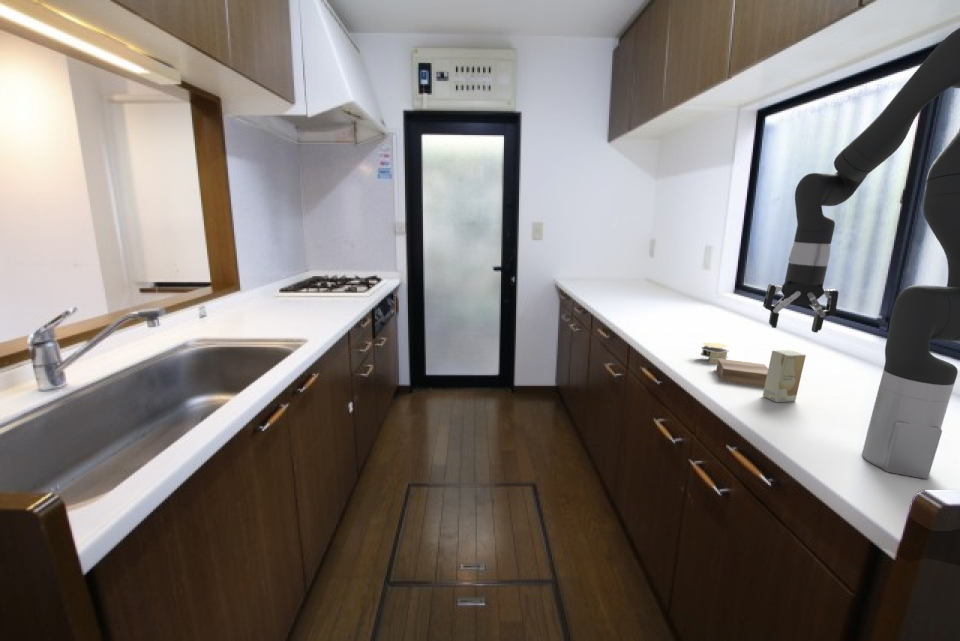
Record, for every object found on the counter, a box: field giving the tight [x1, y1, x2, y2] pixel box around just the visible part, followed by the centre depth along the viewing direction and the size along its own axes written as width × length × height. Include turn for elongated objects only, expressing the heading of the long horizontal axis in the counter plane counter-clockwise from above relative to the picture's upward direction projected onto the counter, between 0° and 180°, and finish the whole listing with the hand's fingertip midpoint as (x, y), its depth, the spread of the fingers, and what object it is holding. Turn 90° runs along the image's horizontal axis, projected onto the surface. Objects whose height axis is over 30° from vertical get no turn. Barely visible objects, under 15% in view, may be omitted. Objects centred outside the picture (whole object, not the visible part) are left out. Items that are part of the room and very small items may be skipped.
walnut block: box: [715, 359, 769, 388], centre depth 127 cm, size 10×12×4 cm
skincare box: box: [762, 349, 807, 403], centre depth 112 cm, size 6×4×12 cm
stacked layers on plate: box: [700, 342, 730, 365], centre depth 143 cm, size 10×9×6 cm
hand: (793, 329), depth 110 cm, fingers open, 8 cm apart
